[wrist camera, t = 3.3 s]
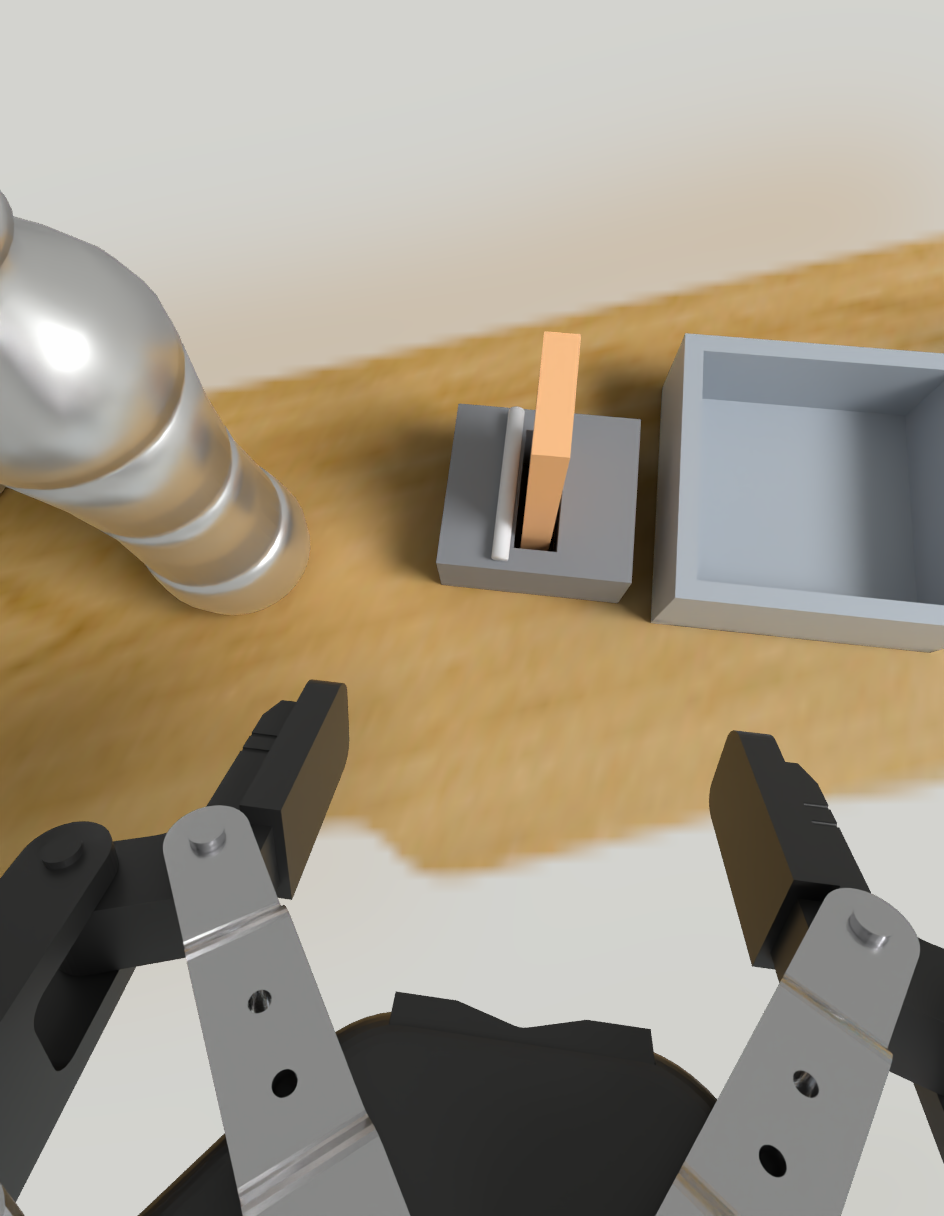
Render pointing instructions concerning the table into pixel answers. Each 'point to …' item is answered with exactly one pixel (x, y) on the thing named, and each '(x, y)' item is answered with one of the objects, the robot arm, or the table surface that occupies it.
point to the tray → (802, 492)
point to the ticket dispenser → (586, 519)
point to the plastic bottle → (131, 428)
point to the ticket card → (550, 437)
